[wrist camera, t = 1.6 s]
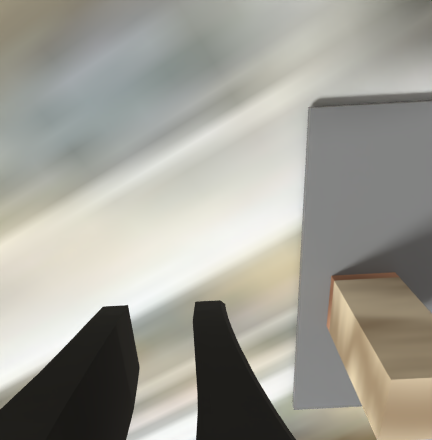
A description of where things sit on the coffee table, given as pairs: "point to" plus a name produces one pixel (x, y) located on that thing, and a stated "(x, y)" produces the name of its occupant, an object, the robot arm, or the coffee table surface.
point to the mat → (359, 225)
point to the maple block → (385, 351)
